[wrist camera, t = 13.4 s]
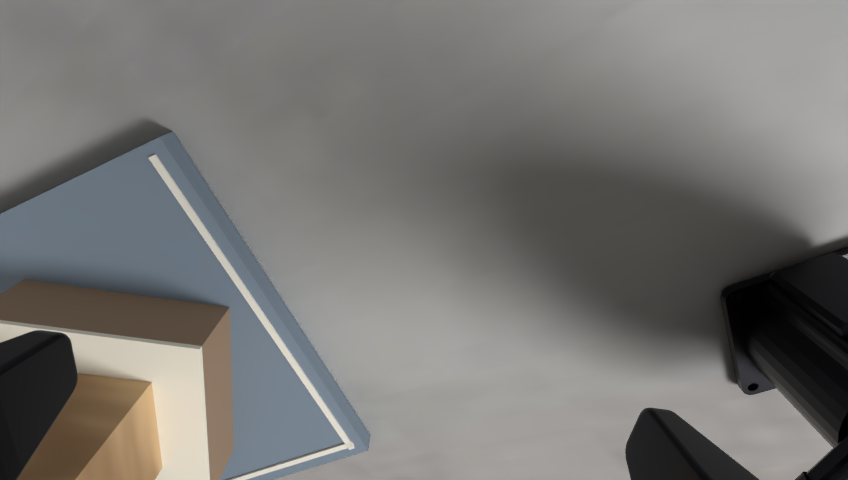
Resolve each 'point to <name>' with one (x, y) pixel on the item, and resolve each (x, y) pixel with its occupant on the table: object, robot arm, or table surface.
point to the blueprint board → (181, 266)
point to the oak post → (101, 434)
